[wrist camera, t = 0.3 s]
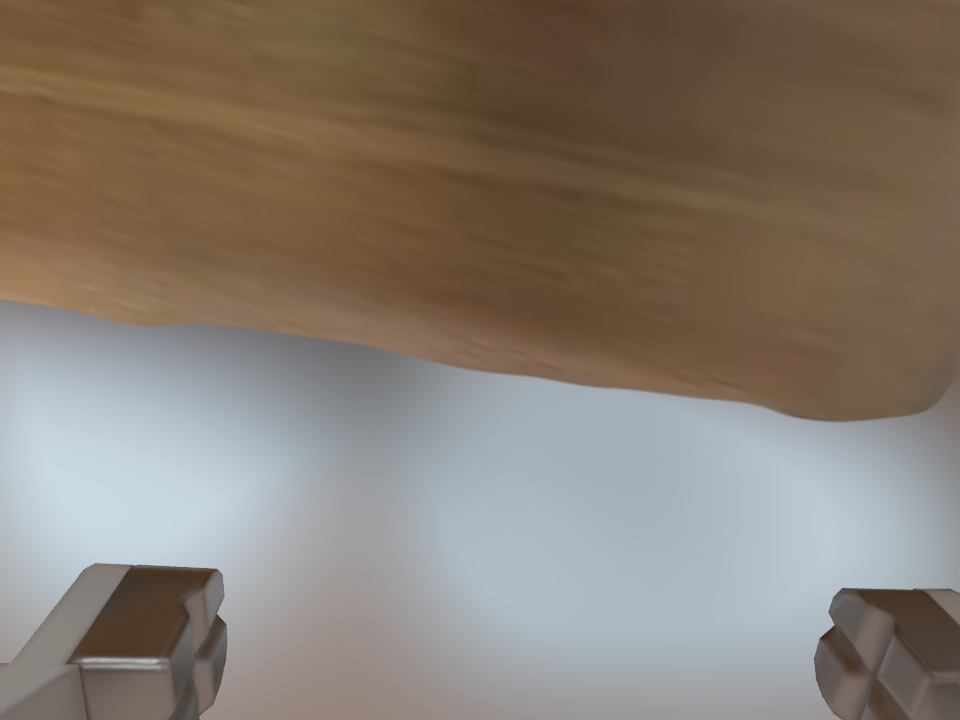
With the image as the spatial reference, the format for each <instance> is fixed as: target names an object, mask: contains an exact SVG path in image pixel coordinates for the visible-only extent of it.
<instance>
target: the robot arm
mask: <svg viewBox="0 0 960 720" xmlns="http://www.w3.org/2000/svg"><path fill="white" fill-rule="evenodd" d="M223 598H224V586H223V576H222V573H221V572H220V571H219V570H218V569H208V568H190V567H170V566H151V565H136V566H134V565H123V564H99V563H95V564H93V565H91V566H89V567H87V568H86V569H84V570H83V571H82V573H81V574H80V575H79V577H78V578H77V579H76V580H75V582H74V583H73V584H72V585H71V587H70V588H69V589H68V591H67V592H66V593H65V595H64V596H63V597H62V598H61V600H60V601H59V602H58V604H57V605H56V606H55V607H54V609H53V610H52V611H51V613H50V614H49V615H48V617H47V618H46V619H45V620H44V622H43V623H42V624H41V625H40V627H39V628H38V630H37V631H36V632H35V633H34V634H33V636H32V637H31V639H30V640H29V641H28V642H27V643H26V645H25V646H24V647H23V649H22V650H21V651H20V652H19V654H18V655H17V656H16V658H15V659H14V660H13V661H12V663H0V720H199V716H200V715H201V714H202V713H204V712H205V711H206V710H207V709H208V708H210V707H211V706H212V705H213V704H214V701H215V698H216V696H217V693H218V690H219V687H220V684H221V680H222V675H223V671H224V666H225V661H226V650H227V627H226V624H225V622H224V621H223V620H222V619H221V618H220V617H219V616H218V615H217V612H218V610H219V607H220V605H221V603H222V600H223ZM829 614H830V616H831V618H832V620H833V622H834V624H835V626H833V627H832V628H831V629H830V630H829V631H828V632H827V633H825V634H824V635H823V636H822V637H821V638H820V639H819V643H818V646H817V650H816V654H815V657H814V661H815V671H816V680H817V682H818V686H819V688H820V691H821V693H822V696H823V698H824V699H825V701H826V703H827V704H828V706H829V707H830V709H831V711H832V712H833V714H835V715H836V716H838V717H839V718H840V719H842V720H960V593H958V592H956V591H954V590H952V589H913V590H901V589H860V588H859V589H858V588H856V589H855V588H842V589H841V590H840V591H839V592H838V593H837V594H836V595H835V596H834V598H833V601H832V603H831V606H830V609H829Z"/></svg>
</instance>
